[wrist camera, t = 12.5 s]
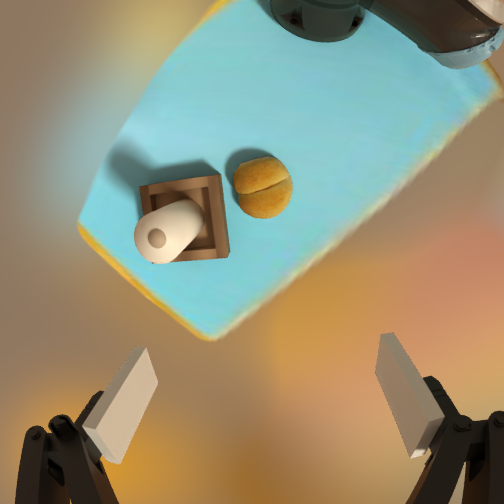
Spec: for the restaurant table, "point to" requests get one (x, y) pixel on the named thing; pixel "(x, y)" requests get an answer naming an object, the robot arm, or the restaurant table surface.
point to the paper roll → (168, 230)
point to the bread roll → (263, 187)
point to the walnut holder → (212, 202)
